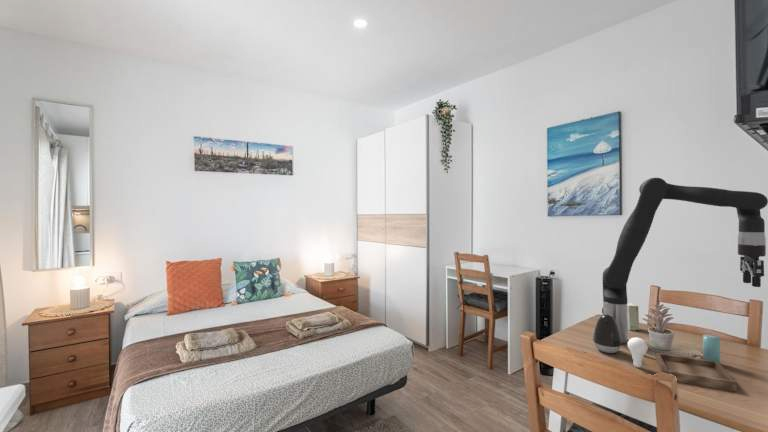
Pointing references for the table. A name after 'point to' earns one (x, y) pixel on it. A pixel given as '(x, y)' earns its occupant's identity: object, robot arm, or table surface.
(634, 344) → the lightbulb
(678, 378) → the walnut tray
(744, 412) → the table surface
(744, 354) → the table surface
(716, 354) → the teal canister
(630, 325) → the skincare box
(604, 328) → the black rounded dome
